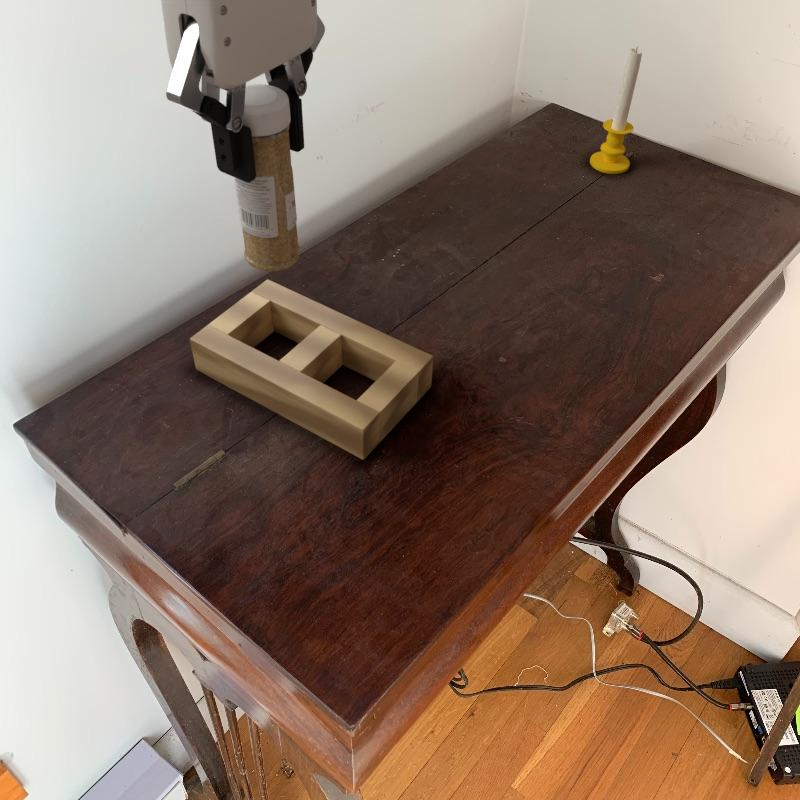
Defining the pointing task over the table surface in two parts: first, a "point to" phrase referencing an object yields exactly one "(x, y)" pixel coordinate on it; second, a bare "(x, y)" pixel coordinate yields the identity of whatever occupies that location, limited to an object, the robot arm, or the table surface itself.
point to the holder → (313, 366)
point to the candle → (619, 123)
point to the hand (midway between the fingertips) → (261, 157)
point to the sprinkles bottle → (268, 182)
